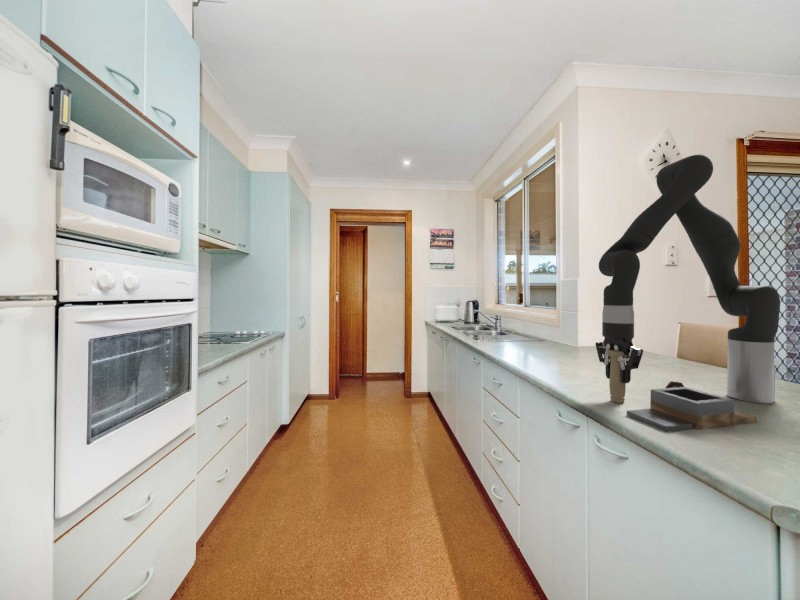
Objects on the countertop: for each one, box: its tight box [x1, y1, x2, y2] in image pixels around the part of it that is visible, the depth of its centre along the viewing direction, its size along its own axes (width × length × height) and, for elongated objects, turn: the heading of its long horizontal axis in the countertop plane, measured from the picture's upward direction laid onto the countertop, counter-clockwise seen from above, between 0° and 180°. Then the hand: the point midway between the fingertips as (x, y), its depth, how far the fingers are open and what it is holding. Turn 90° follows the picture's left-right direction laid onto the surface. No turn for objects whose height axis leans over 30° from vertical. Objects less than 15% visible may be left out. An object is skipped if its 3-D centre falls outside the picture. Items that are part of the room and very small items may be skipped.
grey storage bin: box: [626, 386, 736, 433], centre depth 78 cm, size 19×11×6 cm, turn 101°
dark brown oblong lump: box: [665, 381, 685, 388], centre depth 94 cm, size 6×5×15 cm
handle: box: [607, 349, 628, 404], centre depth 91 cm, size 5×6×15 cm
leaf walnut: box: [649, 400, 758, 431], centre depth 80 cm, size 19×11×3 cm, turn 101°
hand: (617, 380), depth 91 cm, fingers open, 4 cm apart
